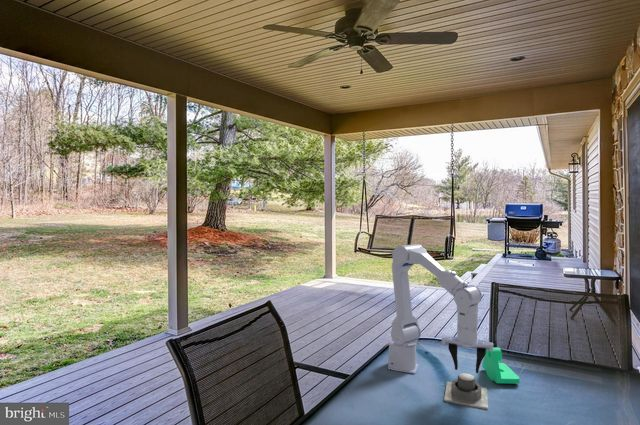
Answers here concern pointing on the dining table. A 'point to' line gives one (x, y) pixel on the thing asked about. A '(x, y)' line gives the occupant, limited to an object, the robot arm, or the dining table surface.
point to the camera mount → (498, 368)
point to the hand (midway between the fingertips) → (466, 370)
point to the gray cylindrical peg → (466, 382)
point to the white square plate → (466, 395)
